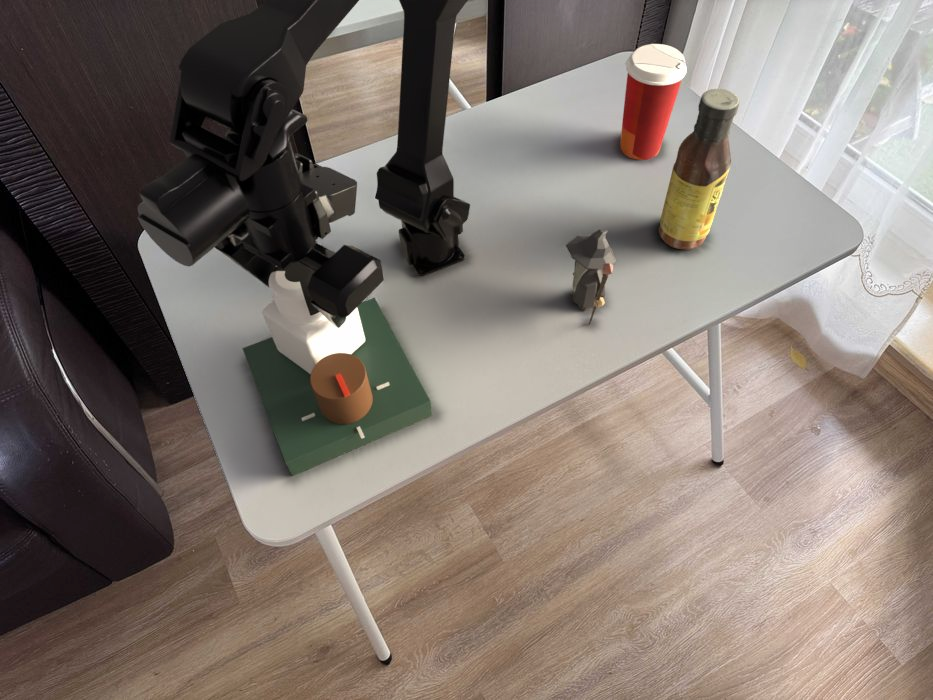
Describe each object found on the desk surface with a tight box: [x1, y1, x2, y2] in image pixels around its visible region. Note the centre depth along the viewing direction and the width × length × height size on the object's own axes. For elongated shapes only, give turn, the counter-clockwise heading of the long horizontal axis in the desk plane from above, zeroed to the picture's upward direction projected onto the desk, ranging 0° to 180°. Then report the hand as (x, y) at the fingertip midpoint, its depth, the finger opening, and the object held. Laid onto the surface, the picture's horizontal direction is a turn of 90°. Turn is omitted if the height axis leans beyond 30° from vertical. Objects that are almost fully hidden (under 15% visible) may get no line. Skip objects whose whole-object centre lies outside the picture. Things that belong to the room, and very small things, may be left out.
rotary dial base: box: [242, 297, 433, 477], centre depth 78 cm, size 16×17×3 cm
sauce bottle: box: [658, 88, 740, 250], centre depth 84 cm, size 7×6×20 cm
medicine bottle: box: [261, 262, 365, 374], centre depth 75 cm, size 7×7×12 cm
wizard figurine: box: [565, 229, 617, 325], centre depth 81 cm, size 8×6×12 cm
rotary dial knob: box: [310, 353, 373, 424], centre depth 73 cm, size 6×6×5 cm
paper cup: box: [620, 43, 688, 161], centre depth 97 cm, size 8×8×14 cm
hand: (306, 304), depth 74 cm, fingers open, 9 cm apart
